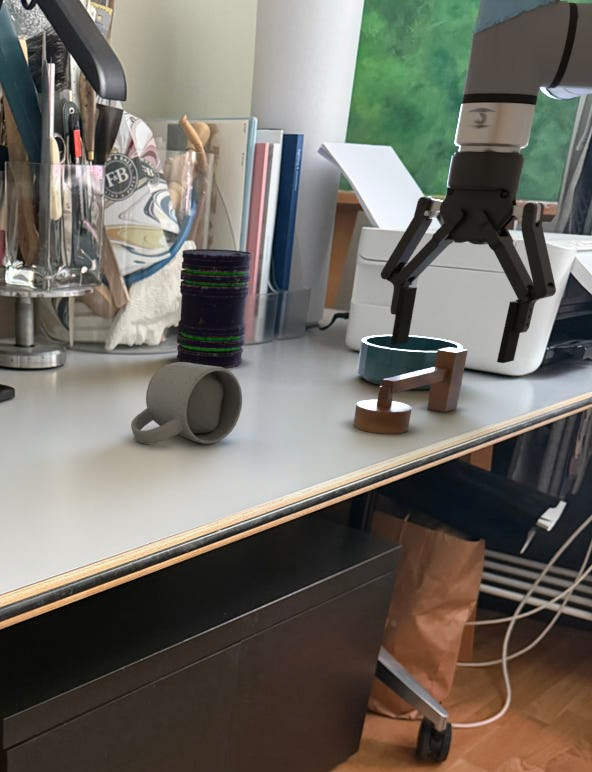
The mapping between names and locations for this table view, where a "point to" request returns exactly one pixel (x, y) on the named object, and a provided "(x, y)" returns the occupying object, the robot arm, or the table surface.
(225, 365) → the storage jar
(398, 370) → the bowl
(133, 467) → the table surface
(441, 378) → the wooden crane toy
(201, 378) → the ceramic mug
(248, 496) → the table surface
